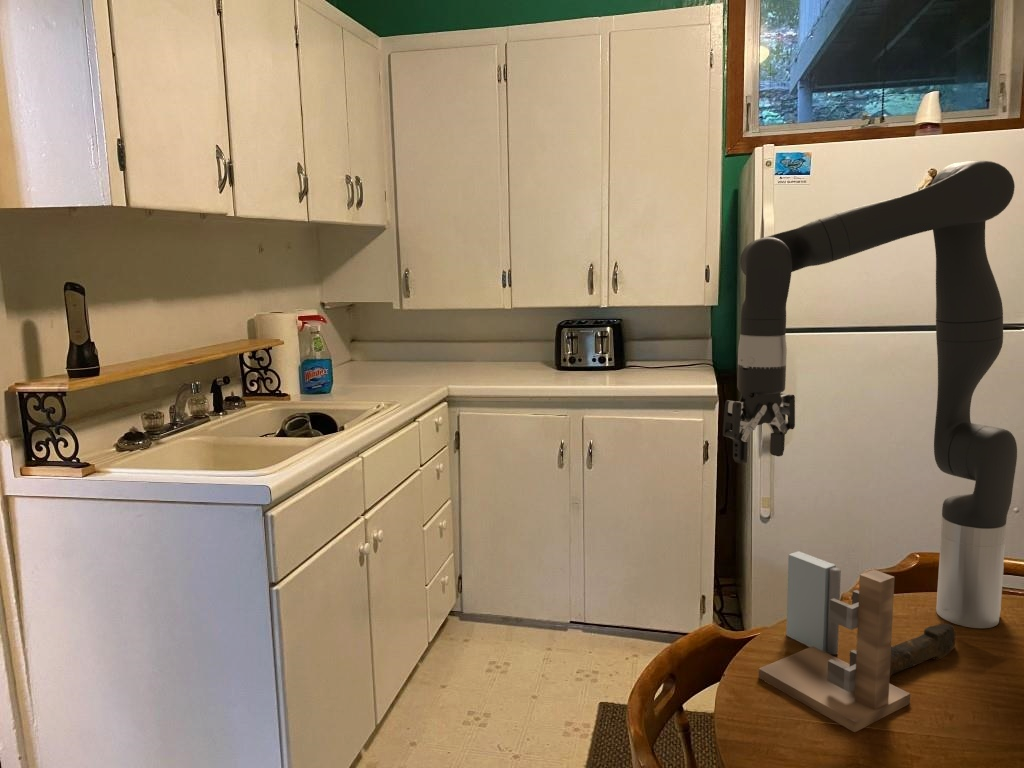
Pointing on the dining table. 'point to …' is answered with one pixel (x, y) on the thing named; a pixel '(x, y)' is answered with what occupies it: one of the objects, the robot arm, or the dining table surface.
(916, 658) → the hand tool
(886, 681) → the hinge frame
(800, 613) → the cabinet door
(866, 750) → the dining table surface
